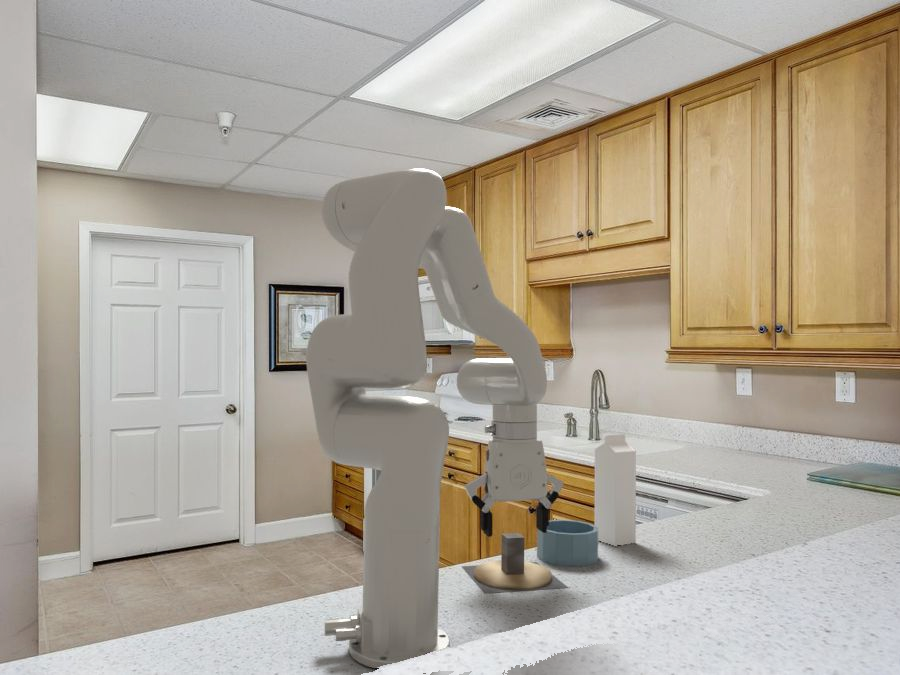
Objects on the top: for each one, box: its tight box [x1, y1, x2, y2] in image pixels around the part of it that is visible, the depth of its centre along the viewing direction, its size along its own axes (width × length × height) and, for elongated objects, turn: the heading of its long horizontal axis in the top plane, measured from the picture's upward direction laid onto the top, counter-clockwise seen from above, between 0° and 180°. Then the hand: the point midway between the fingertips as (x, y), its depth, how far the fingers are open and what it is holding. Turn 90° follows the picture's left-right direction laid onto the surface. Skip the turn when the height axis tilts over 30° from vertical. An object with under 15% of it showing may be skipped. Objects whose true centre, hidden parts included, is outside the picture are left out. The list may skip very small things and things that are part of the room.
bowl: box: [536, 519, 599, 567], centre depth 122 cm, size 11×11×6 cm
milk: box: [593, 433, 637, 547], centre depth 135 cm, size 6×6×22 cm
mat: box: [461, 561, 569, 595], centre depth 110 cm, size 14×14×1 cm
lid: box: [474, 532, 553, 590], centre depth 110 cm, size 13×13×7 cm
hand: (514, 532), depth 111 cm, fingers open, 9 cm apart
